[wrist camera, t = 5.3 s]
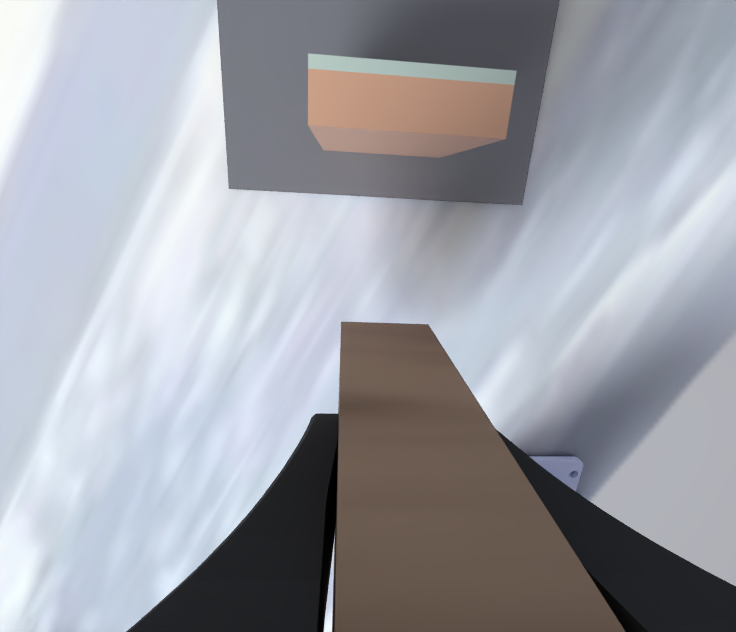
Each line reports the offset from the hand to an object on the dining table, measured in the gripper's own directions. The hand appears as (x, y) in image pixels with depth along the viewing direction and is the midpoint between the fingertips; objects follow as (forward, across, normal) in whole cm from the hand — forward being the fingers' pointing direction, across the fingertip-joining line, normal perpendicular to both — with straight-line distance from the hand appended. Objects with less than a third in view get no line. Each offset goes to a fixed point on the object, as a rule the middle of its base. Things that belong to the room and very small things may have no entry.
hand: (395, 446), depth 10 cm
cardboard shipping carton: (+4, 0, 0) cm, 4 cm away
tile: (+9, 0, -8) cm, 13 cm away
